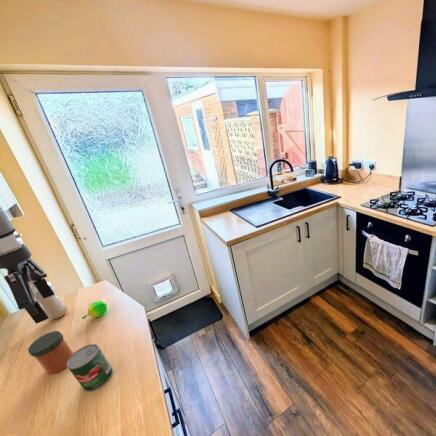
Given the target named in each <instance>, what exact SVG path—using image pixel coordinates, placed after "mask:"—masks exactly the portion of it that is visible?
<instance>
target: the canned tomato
mask: <svg viewBox="0 0 436 436" xmlns="http://www.w3.org/2000/svg"><path fill="white" fill-rule="evenodd" d="M73 353H74V354H73V355H72V356H71V357H70V358H69V359H68V361H67V369H68V370H69V372H70V373H71V374H72V376H73V377H74V378H75V379H76V381H77V382H78V383H79V385H80V387H82V389H83V391H85V392H87V393H91V392H95V391H97V390H99V389H101V388H102V387H103V386H105V385H106V384H107V383H108V382H109V381H110V379H111V378H112V375H113V373H114V369H113V367H112V365H111V364H110V363H109V361H108V359H107V358H106V356H105V354H104V353H103V351H102V350H101V348H100V347H99V345H98V344H97V343H90V344H87V345H84V346H82V347H81V348H79V349H78V350H76V351H75V352H73Z"/></svg>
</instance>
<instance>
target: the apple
mask: <svg viewBox="0 0 436 436" xmlns="http://www.w3.org/2000/svg"><path fill="white" fill-rule="evenodd" d="M107 311H108V307H107V304H106V303H105V302H103V301H102V300H98V301H94V302H93V301H92V303H91V304H90V305H89V306H88V307H87V314H85V315H84V316H82V317H81V319H83V320H84V321H85V320H86V317H87V316H89V317H91V318H93V319H95V318H100V317H103V316H104V314H105V313H106V312H107Z"/></svg>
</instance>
